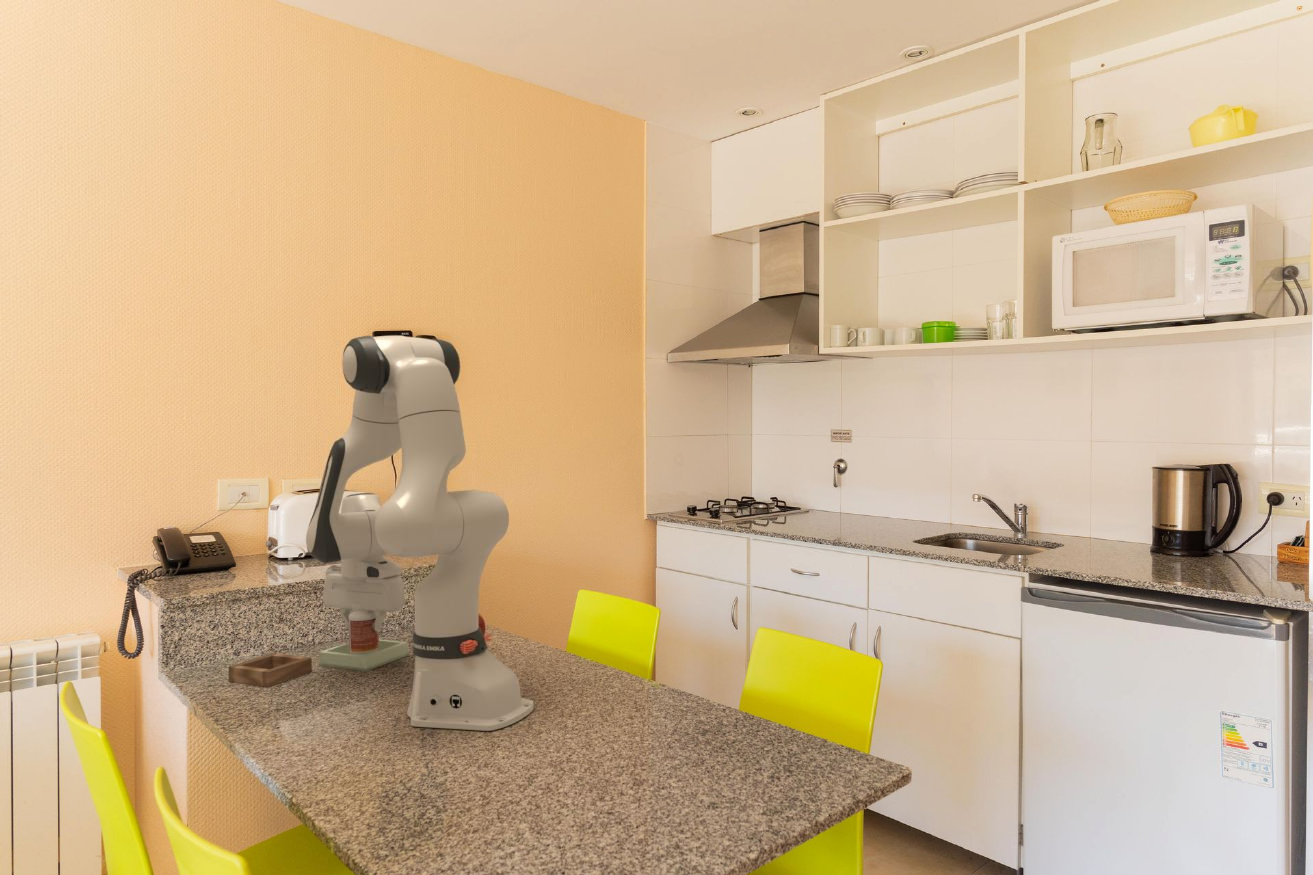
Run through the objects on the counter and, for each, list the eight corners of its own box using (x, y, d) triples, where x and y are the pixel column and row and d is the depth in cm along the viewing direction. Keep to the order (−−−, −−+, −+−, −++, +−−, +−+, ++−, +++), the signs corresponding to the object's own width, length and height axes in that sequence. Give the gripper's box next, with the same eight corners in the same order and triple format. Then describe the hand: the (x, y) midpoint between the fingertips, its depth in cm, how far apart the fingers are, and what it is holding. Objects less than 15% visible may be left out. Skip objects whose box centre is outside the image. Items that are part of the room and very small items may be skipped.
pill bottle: (383, 651, 178) (382, 600, 178) (356, 656, 174) (355, 605, 174) (371, 646, 183) (370, 597, 183) (344, 651, 178) (343, 601, 178)
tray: (407, 655, 182) (407, 642, 182) (366, 671, 170) (365, 657, 170) (362, 650, 187) (362, 637, 187) (319, 665, 175) (319, 651, 175)
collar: (311, 671, 170) (311, 657, 170) (268, 687, 160) (268, 672, 160) (273, 666, 175) (273, 653, 175) (228, 681, 165) (228, 666, 165)
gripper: (315, 566, 179) (316, 628, 179) (388, 571, 171) (389, 636, 171) (336, 562, 185) (338, 622, 185) (408, 566, 177) (409, 629, 177)
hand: (363, 629), depth 178 cm, fingers closed on pill bottle, 6 cm apart
